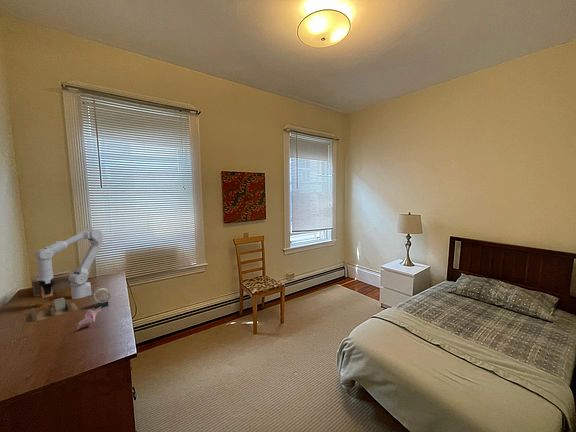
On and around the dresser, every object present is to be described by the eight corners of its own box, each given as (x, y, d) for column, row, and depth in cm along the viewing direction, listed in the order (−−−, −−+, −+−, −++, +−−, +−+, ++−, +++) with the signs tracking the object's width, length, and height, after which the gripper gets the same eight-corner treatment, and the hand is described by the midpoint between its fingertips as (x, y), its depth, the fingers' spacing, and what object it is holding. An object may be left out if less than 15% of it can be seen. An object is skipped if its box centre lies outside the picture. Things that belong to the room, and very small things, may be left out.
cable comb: (73, 304, 140) (73, 297, 140) (78, 311, 132) (78, 304, 131) (23, 317, 125) (22, 310, 125) (25, 326, 116) (24, 318, 116)
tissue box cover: (82, 281, 180) (81, 268, 179) (86, 285, 171) (85, 272, 170) (32, 291, 161) (31, 277, 160) (34, 297, 151) (32, 282, 150)
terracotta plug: (51, 293, 139) (50, 283, 138) (52, 295, 136) (51, 285, 136) (42, 296, 136) (41, 285, 135) (42, 297, 133) (41, 287, 133)
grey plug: (64, 307, 134) (63, 297, 133) (65, 309, 131) (64, 299, 131) (54, 310, 131) (53, 299, 130) (55, 312, 128) (54, 301, 128)
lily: (107, 319, 124) (97, 304, 123) (114, 317, 117) (102, 301, 116) (80, 337, 114) (69, 321, 113) (85, 336, 107) (73, 319, 106)
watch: (112, 306, 137) (111, 288, 136) (94, 311, 131) (93, 291, 130) (111, 303, 141) (110, 285, 140) (94, 307, 135) (92, 289, 135)
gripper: (34, 269, 136) (36, 292, 137) (36, 274, 127) (38, 298, 128) (51, 266, 142) (53, 288, 143) (54, 271, 133) (56, 294, 134)
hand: (47, 293), depth 136 cm, fingers closed on terracotta plug, 4 cm apart
